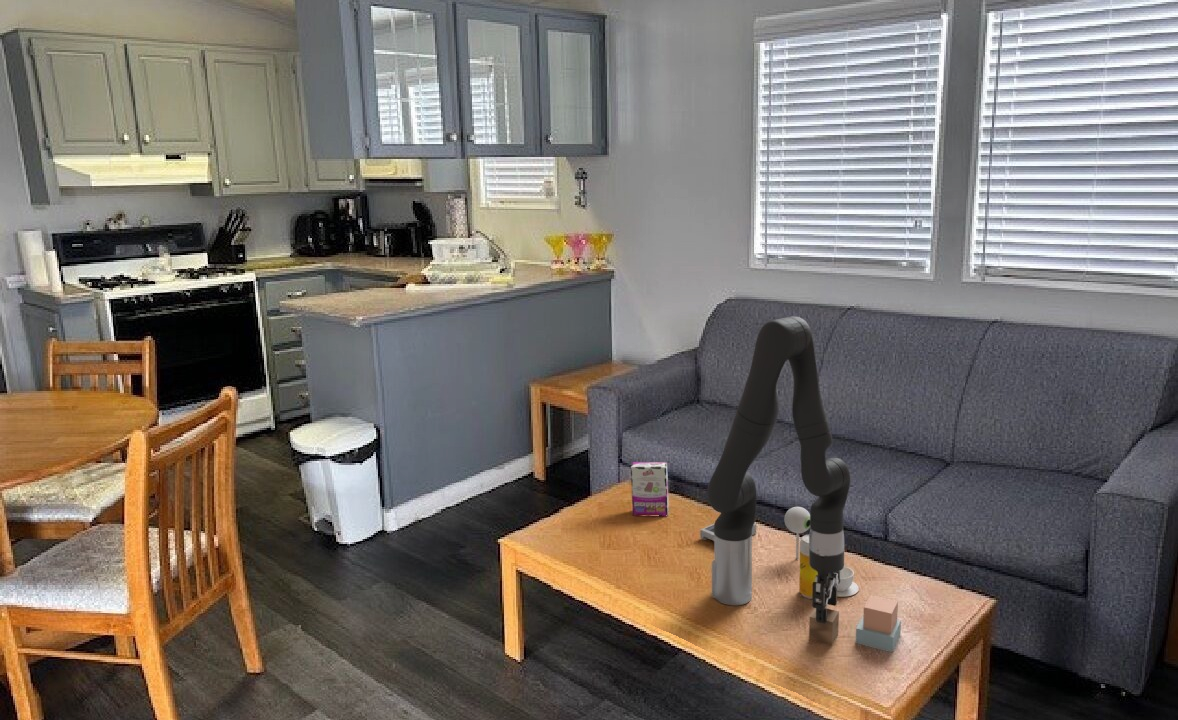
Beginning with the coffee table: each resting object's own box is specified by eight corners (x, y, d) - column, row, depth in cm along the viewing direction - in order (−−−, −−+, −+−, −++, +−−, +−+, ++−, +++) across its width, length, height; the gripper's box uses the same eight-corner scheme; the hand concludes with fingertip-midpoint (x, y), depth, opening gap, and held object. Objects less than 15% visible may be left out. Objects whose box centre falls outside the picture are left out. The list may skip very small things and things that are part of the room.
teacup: (847, 602, 204) (848, 585, 203) (810, 590, 210) (811, 573, 209) (865, 586, 211) (866, 569, 210) (829, 575, 217) (829, 558, 216)
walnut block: (809, 640, 188) (809, 616, 187) (815, 629, 192) (816, 606, 191) (832, 646, 185) (832, 622, 184) (838, 634, 190) (838, 611, 188)
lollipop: (800, 567, 222) (801, 515, 218) (778, 558, 227) (779, 507, 224) (815, 558, 226) (816, 507, 223) (794, 550, 232) (794, 500, 228)
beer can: (805, 585, 212) (806, 531, 209) (828, 592, 208) (829, 537, 205) (795, 595, 208) (795, 540, 204) (818, 602, 204) (819, 546, 200)
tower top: (863, 627, 186) (863, 607, 185) (870, 614, 191) (870, 595, 189) (890, 634, 183) (891, 613, 181) (897, 621, 187) (897, 601, 186)
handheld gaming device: (756, 535, 243) (756, 523, 242) (722, 550, 234) (722, 538, 233) (734, 526, 250) (733, 514, 249) (699, 541, 241) (699, 529, 240)
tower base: (855, 644, 186) (856, 628, 185) (864, 627, 193) (865, 611, 192) (892, 653, 182) (893, 637, 181) (900, 635, 189) (901, 620, 188)
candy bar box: (669, 510, 262) (667, 461, 258) (667, 517, 257) (666, 467, 253) (633, 509, 264) (632, 461, 260) (632, 516, 259) (630, 466, 255)
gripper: (818, 531, 192) (818, 595, 195) (800, 556, 180) (800, 624, 183) (851, 537, 188) (851, 602, 191) (835, 563, 176) (835, 632, 179)
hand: (826, 613), depth 187 cm, fingers open, 8 cm apart
